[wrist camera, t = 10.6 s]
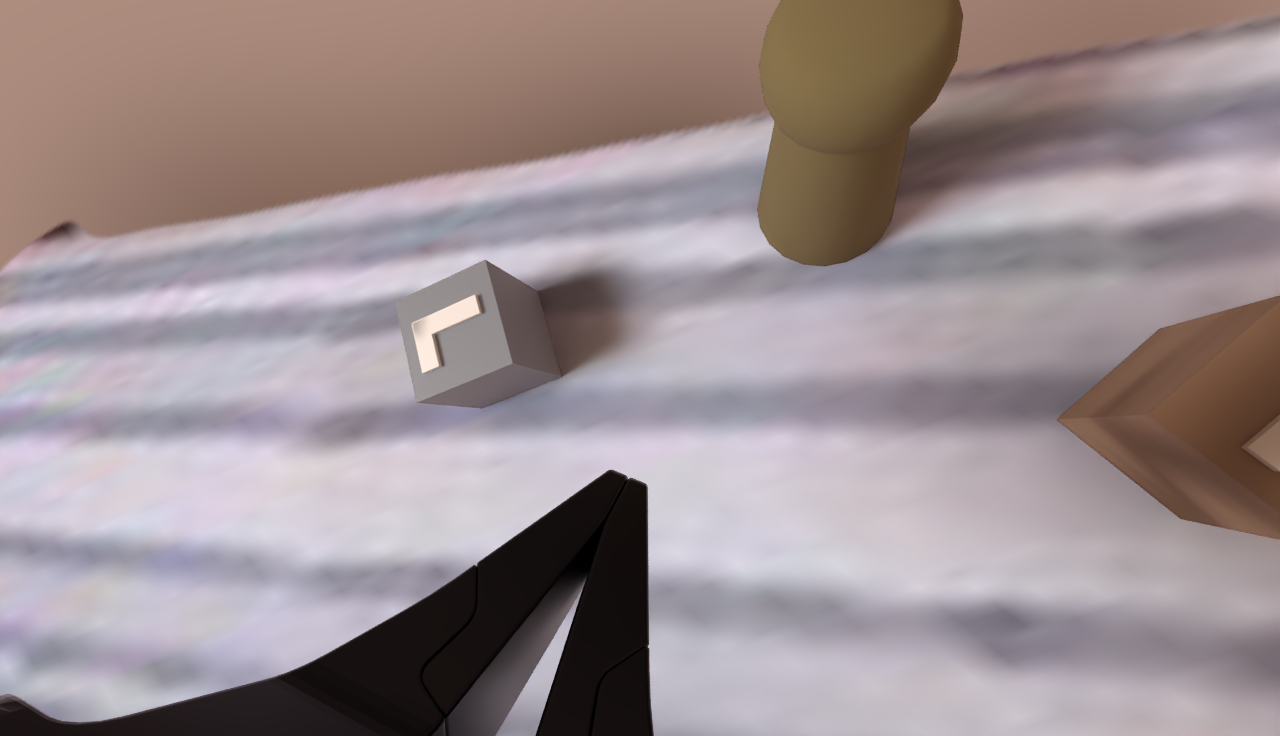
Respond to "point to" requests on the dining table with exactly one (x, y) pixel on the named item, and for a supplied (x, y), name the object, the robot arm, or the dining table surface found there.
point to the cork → (845, 116)
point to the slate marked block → (476, 338)
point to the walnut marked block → (1197, 418)
